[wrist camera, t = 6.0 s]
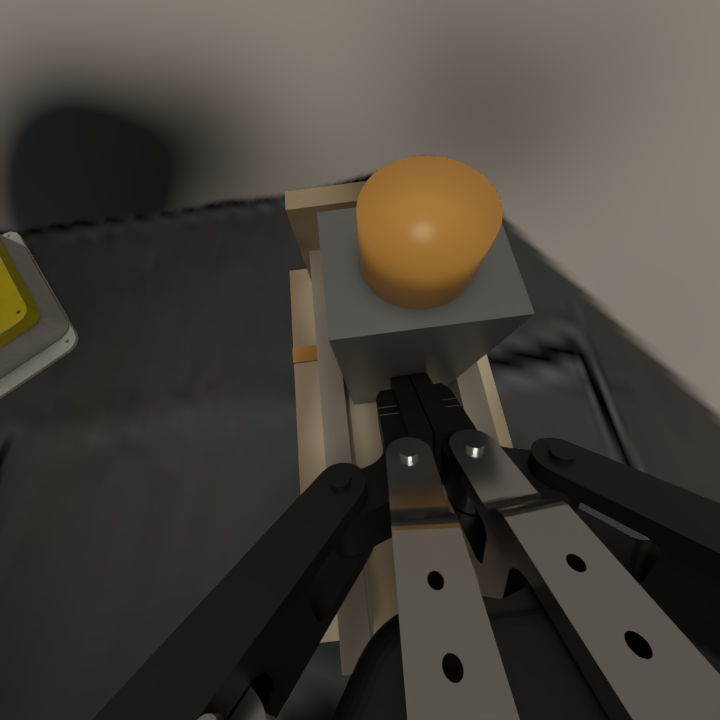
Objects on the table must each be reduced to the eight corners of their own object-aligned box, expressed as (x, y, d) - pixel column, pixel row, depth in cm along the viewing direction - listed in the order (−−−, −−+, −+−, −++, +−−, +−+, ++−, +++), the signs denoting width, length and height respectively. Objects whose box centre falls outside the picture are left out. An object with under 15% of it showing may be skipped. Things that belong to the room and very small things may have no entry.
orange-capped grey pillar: (354, 404, 16) (315, 307, 5) (347, 342, 17) (303, 154, 6) (438, 393, 16) (584, 272, 5) (425, 332, 17) (518, 126, 6)
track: (316, 619, 15) (256, 801, 7) (296, 285, 21) (255, 195, 14) (535, 591, 15) (711, 743, 7) (448, 266, 21) (491, 164, 14)
